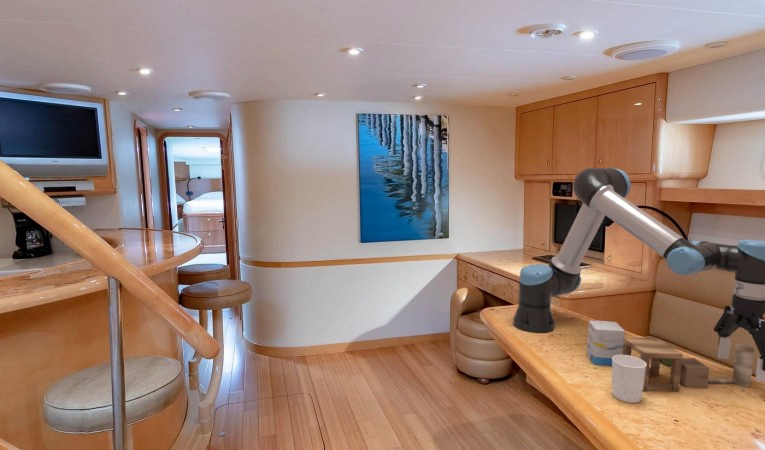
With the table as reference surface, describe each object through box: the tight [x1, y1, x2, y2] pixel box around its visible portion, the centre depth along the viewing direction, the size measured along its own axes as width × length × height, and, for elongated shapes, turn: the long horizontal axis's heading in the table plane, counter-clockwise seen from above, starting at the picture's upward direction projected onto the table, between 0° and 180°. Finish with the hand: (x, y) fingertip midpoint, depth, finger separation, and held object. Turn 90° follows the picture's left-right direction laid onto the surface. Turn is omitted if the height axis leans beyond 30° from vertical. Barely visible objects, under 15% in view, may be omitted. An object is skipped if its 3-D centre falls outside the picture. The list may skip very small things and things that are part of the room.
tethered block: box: [680, 343, 756, 389], centre depth 120 cm, size 6×20×11 cm, turn 88°
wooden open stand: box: [623, 337, 684, 393], centre depth 121 cm, size 11×10×11 cm
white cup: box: [611, 355, 647, 404], centre depth 113 cm, size 8×8×10 cm
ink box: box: [586, 320, 626, 367], centre depth 135 cm, size 8×8×12 cm
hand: (741, 369), depth 120 cm, fingers open, 13 cm apart
